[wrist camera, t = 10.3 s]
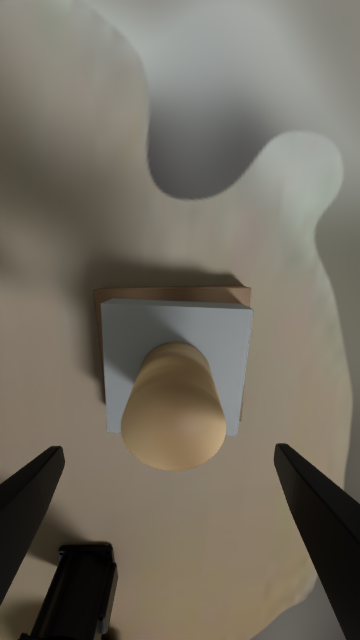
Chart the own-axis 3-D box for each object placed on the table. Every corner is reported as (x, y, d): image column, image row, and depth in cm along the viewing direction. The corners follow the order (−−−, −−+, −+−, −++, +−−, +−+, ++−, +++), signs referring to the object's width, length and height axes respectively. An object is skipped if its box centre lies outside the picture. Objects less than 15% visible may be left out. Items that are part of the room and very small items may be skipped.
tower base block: (116, 405, 21) (108, 423, 18) (104, 287, 18) (93, 290, 16) (233, 403, 21) (241, 421, 19) (241, 285, 18) (251, 288, 16)
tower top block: (116, 410, 18) (107, 432, 16) (112, 298, 16) (100, 303, 13) (229, 413, 18) (236, 436, 16) (241, 303, 16) (253, 309, 13)
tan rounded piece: (142, 406, 15) (125, 471, 10) (137, 342, 14) (115, 384, 9) (209, 404, 15) (224, 469, 10) (210, 341, 14) (228, 382, 9)
